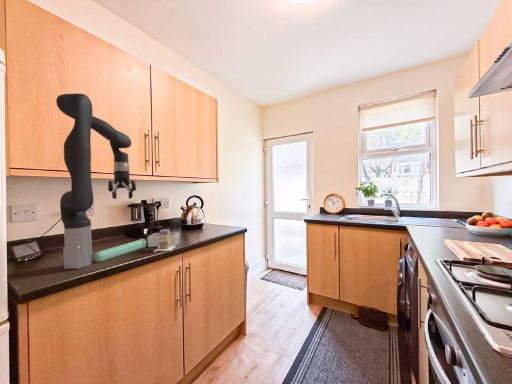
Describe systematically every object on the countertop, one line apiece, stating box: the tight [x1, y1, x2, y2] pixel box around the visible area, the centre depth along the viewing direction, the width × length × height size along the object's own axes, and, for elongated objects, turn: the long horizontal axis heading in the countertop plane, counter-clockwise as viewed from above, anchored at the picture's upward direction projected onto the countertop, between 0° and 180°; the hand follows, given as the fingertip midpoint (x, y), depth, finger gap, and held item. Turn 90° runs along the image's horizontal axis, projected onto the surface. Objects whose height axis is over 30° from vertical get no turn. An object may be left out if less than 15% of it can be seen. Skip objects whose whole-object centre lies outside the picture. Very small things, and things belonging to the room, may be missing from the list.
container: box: [93, 238, 147, 263], centre depth 112 cm, size 6×6×25 cm
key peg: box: [159, 228, 171, 249], centre depth 120 cm, size 4×4×10 cm
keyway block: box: [147, 231, 180, 248], centre depth 131 cm, size 10×15×6 cm, turn 94°
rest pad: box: [152, 245, 177, 253], centre depth 120 cm, size 9×9×1 cm
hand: (122, 198), depth 126 cm, fingers open, 8 cm apart
